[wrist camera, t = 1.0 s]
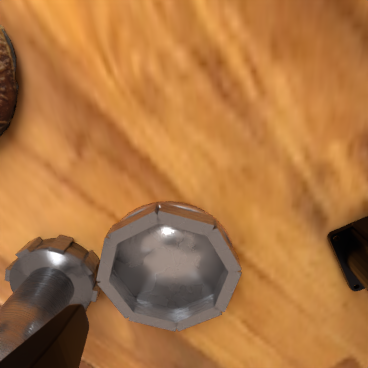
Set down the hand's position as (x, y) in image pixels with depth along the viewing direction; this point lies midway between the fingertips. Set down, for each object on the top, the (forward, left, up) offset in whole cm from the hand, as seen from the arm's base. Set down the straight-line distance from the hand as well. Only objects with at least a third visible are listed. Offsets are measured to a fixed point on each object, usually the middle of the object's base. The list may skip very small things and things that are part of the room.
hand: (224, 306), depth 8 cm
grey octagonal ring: (-5, +6, -13) cm, 15 cm away
